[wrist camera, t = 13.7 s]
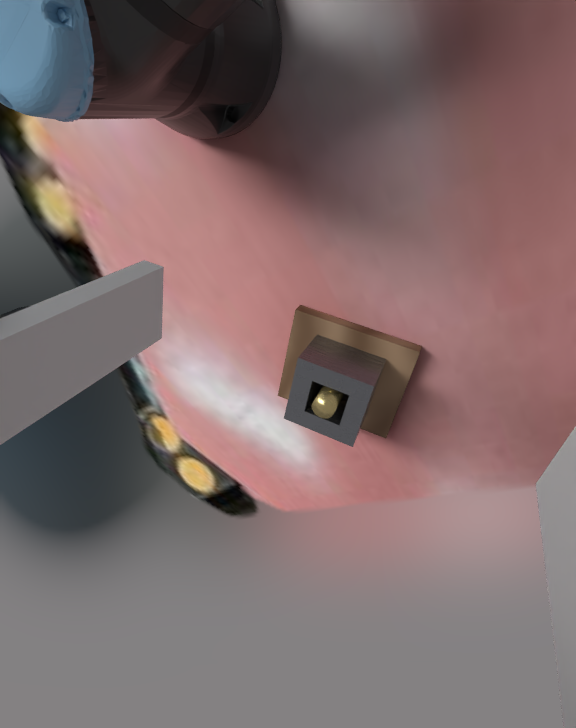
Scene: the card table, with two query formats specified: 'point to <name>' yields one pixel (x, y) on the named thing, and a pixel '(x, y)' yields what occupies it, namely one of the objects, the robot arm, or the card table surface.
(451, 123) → the card table surface
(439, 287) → the card table surface
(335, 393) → the keeper pin
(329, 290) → the card table surface
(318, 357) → the grey hollow square block
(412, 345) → the board
